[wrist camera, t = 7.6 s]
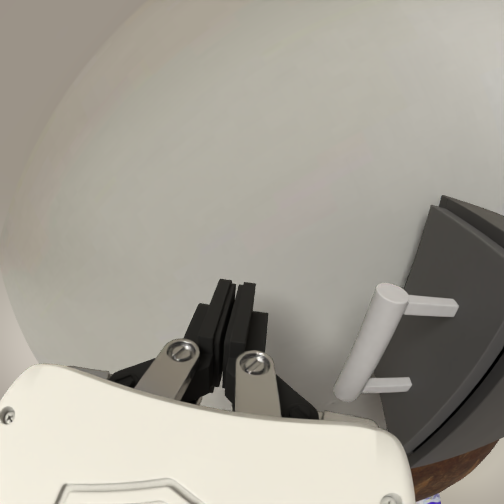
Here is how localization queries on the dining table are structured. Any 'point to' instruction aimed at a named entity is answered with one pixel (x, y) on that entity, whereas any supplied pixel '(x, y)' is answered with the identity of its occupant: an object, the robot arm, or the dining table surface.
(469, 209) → the grey drawer cabinet
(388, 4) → the dining table surface
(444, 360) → the fryer drawer
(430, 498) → the bottle
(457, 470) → the bread
